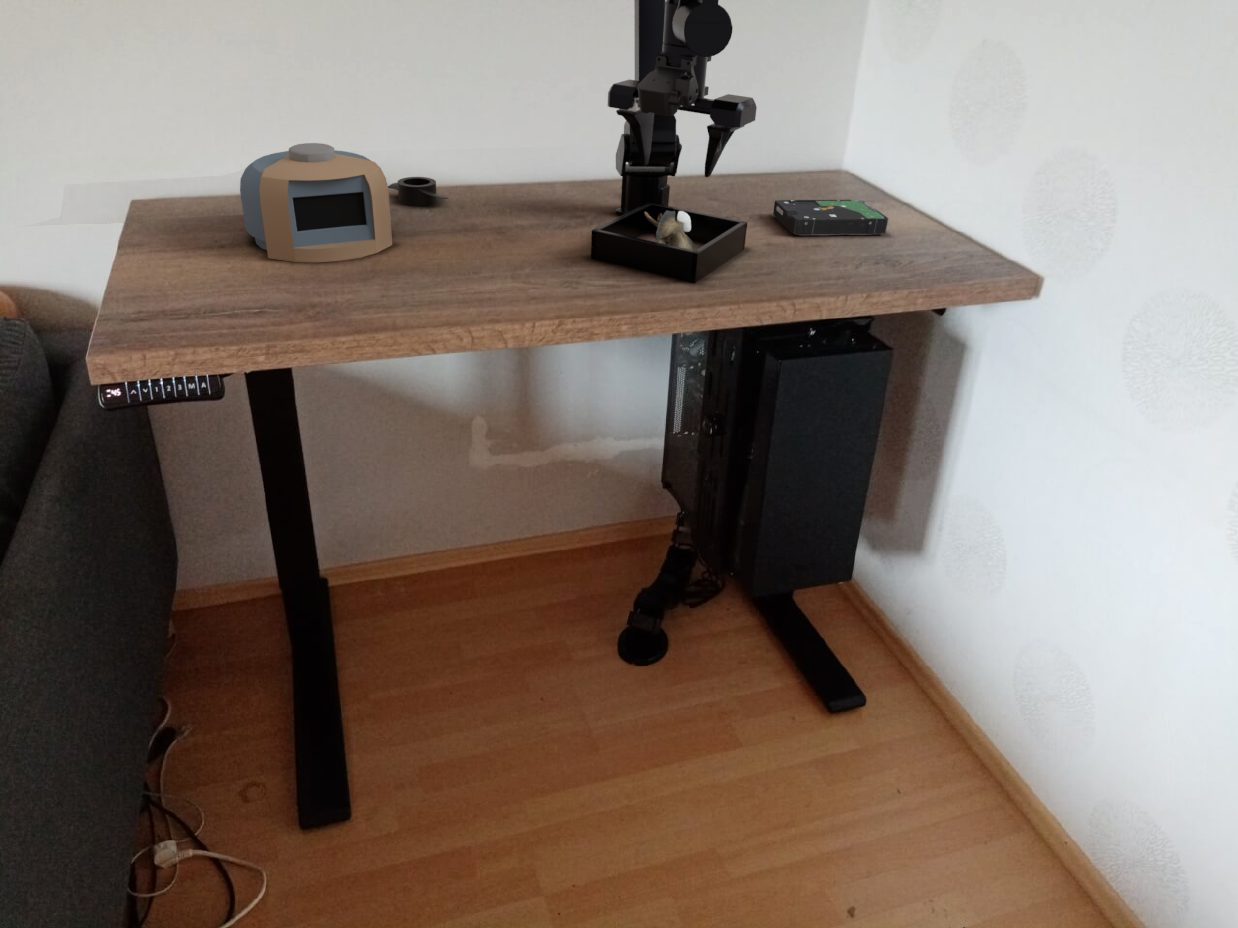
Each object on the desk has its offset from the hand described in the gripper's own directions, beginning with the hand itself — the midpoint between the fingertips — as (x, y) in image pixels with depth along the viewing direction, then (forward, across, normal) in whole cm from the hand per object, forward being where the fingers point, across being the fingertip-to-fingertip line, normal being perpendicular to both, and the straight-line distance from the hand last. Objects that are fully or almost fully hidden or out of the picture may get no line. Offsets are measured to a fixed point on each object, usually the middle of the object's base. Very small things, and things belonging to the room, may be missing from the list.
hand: (675, 170), depth 129 cm
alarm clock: (+12, -42, -23) cm, 49 cm away
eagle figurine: (+12, 0, 0) cm, 12 cm away
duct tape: (+12, -43, -1) cm, 44 cm away
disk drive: (+12, +14, +27) cm, 33 cm away
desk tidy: (+11, 0, 0) cm, 11 cm away
